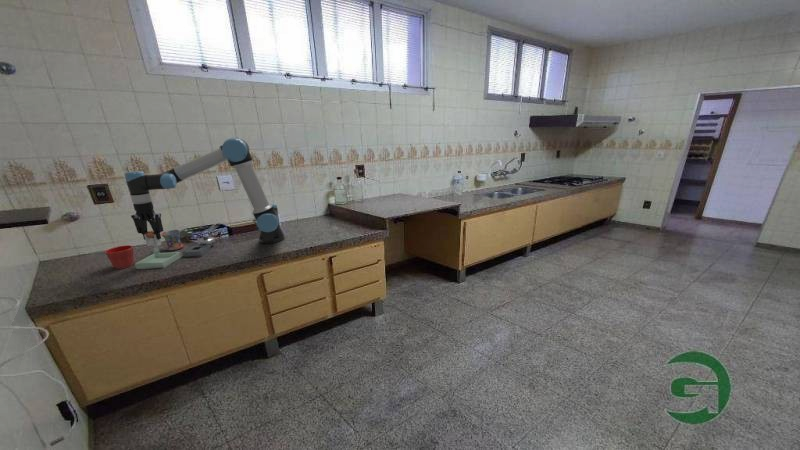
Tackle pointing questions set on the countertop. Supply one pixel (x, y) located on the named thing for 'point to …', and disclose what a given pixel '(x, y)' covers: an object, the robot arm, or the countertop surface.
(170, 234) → the mug
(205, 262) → the countertop surface
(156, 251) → the orange capped clear bottle
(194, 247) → the tensioner block
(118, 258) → the flower pot
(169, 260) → the tray
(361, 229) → the countertop surface
